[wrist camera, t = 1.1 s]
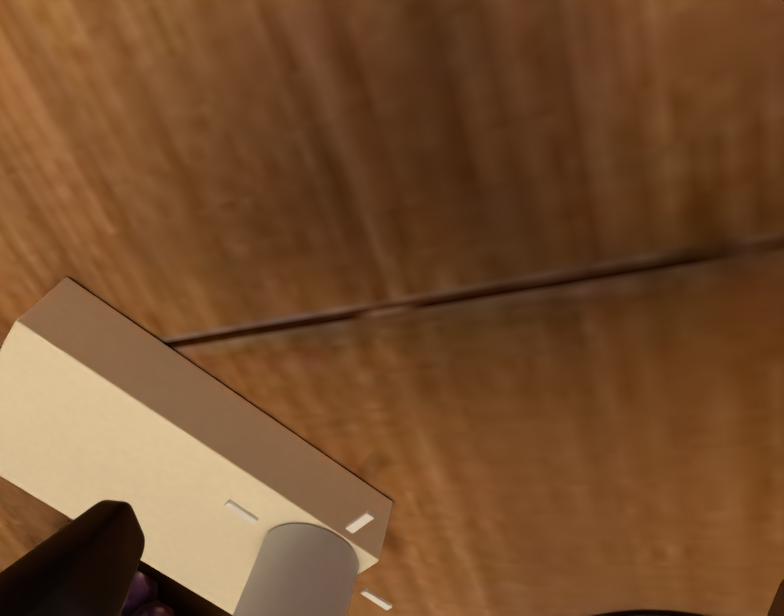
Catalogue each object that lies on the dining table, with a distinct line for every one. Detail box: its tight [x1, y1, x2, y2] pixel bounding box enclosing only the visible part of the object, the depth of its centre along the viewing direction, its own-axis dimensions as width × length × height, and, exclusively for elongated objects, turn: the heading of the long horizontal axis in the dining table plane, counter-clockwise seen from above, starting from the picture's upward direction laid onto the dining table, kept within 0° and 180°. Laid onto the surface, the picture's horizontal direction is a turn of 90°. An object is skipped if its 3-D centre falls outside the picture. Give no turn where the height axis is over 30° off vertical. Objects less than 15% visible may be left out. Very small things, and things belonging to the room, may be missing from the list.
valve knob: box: [233, 524, 359, 616], centre depth 25 cm, size 4×4×4 cm
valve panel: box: [0, 277, 393, 615], centre depth 27 cm, size 18×11×3 cm, turn 52°
